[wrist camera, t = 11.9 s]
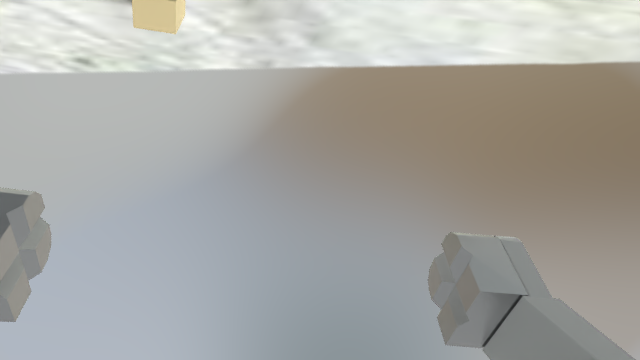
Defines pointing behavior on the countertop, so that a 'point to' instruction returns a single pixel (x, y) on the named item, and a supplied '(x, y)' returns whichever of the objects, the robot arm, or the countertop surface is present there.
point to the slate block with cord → (158, 14)
